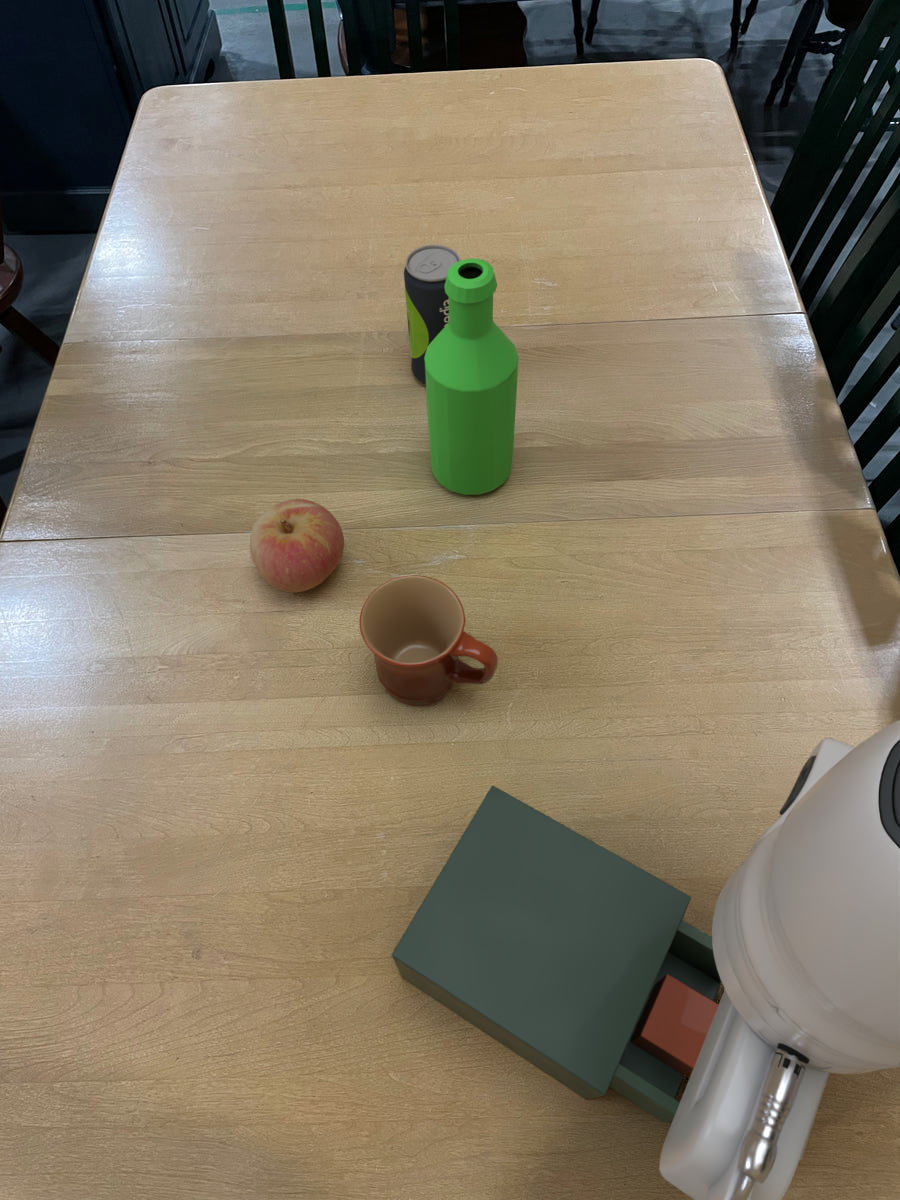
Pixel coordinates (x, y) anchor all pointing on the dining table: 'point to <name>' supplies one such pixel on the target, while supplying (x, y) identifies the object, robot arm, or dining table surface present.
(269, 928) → the dining table surface
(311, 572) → the apple
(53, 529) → the dining table surface
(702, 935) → the drawer
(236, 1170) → the dining table surface
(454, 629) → the mug
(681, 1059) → the block
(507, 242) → the dining table surface
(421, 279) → the beverage can
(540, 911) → the cabinet
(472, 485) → the bottle
